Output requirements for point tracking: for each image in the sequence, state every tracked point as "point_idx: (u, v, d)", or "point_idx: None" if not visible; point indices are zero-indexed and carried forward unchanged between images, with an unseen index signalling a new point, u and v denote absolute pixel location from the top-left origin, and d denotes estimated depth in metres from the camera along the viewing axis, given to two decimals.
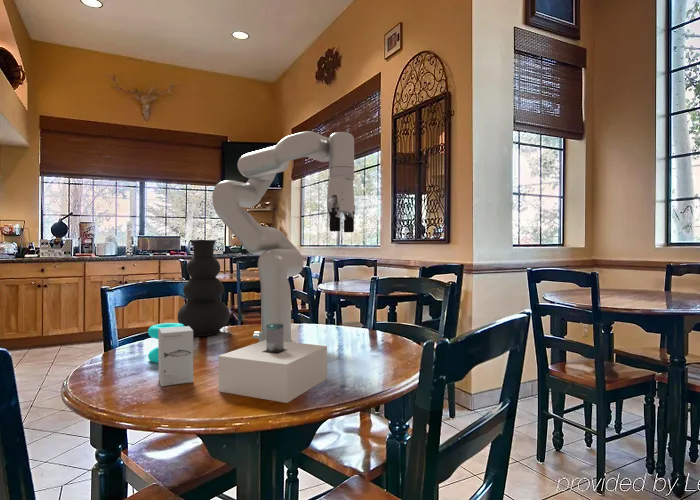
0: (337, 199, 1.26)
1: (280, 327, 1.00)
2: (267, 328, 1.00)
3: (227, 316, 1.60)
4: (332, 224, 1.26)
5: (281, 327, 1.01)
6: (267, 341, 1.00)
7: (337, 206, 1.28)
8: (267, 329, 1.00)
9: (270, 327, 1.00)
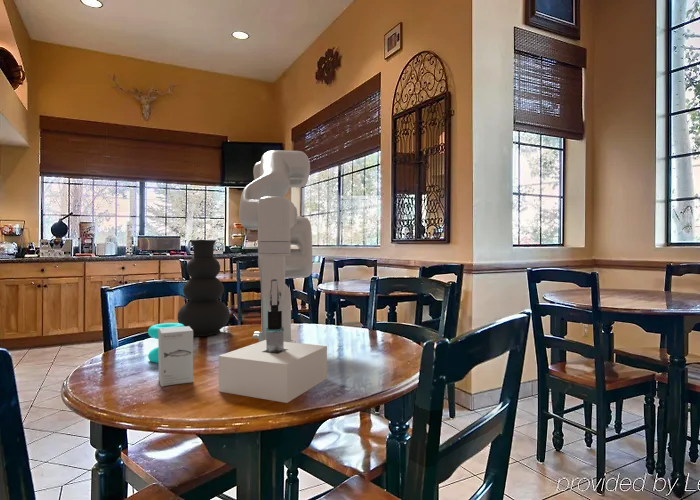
0: (278, 285, 0.97)
1: (280, 330, 1.00)
2: (267, 331, 1.00)
3: (227, 316, 1.60)
4: (273, 320, 1.00)
5: (281, 330, 1.01)
6: (267, 344, 1.00)
7: None
8: (267, 332, 1.00)
9: (270, 330, 1.00)
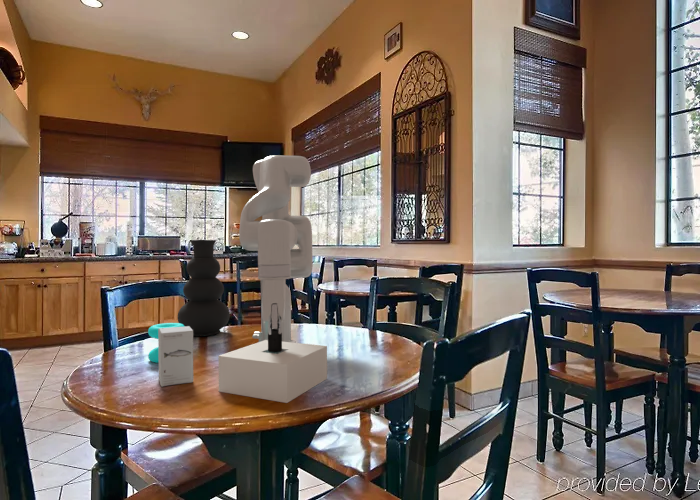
0: (279, 309, 0.97)
1: None
2: None
3: (227, 316, 1.60)
4: (273, 343, 1.00)
5: None
6: None
7: None
8: None
9: None
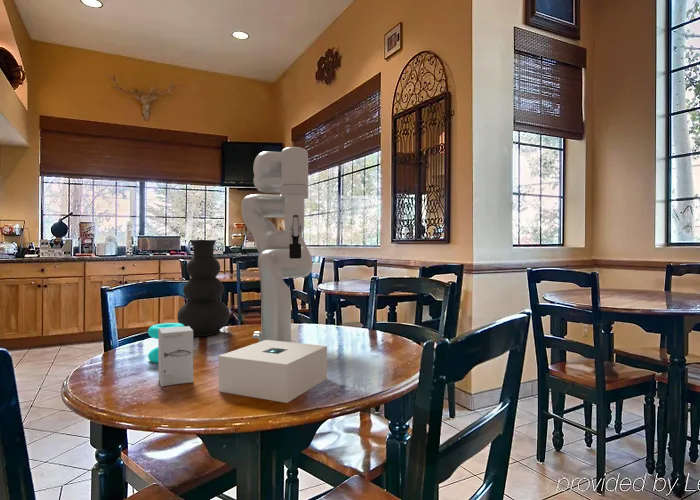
0: (299, 220, 1.16)
1: None
2: None
3: (227, 316, 1.60)
4: (294, 251, 1.20)
5: None
6: None
7: None
8: None
9: None
